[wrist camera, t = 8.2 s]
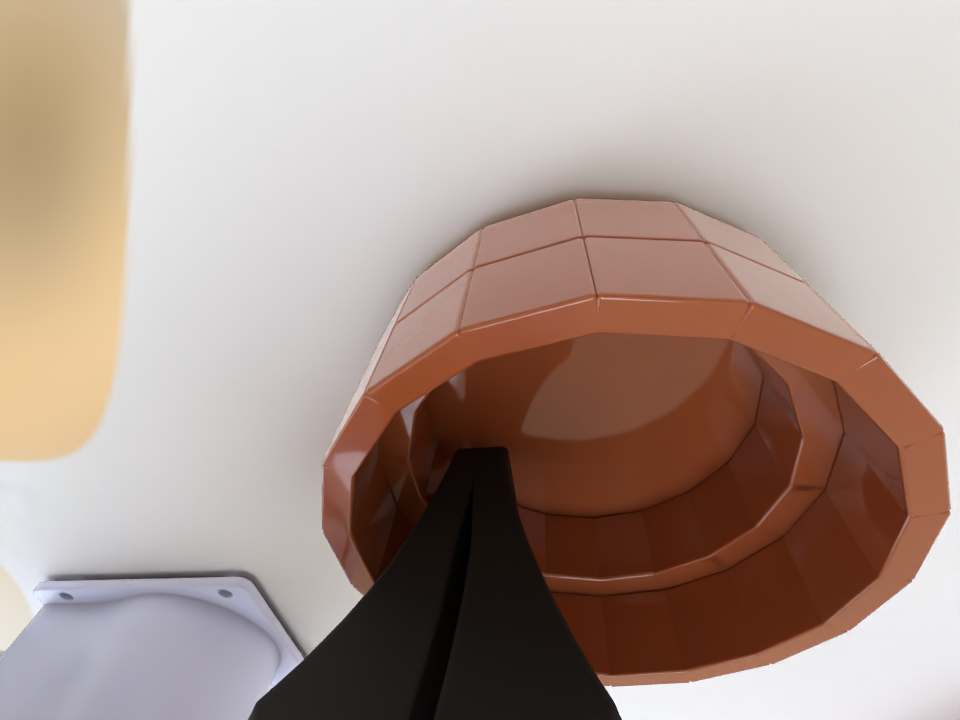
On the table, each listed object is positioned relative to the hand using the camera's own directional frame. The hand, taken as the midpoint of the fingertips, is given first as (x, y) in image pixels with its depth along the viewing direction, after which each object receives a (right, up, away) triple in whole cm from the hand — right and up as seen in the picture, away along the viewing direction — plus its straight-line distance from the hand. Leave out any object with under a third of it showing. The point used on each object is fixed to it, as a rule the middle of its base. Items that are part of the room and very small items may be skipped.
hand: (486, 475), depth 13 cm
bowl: (+3, +2, 0) cm, 3 cm away
